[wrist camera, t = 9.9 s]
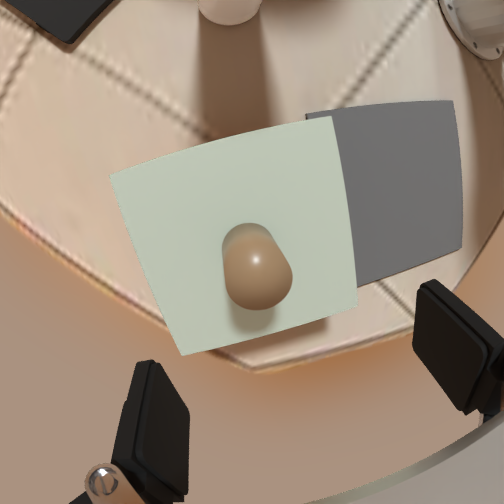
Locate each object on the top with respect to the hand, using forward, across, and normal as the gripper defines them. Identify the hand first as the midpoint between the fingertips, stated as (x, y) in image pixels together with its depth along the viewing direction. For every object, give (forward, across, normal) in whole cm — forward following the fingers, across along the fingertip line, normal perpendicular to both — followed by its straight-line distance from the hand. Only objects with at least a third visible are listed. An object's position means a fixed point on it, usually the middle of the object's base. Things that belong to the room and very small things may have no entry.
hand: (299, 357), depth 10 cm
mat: (+19, -16, +2) cm, 25 cm away
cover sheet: (+12, +1, 0) cm, 13 cm away
